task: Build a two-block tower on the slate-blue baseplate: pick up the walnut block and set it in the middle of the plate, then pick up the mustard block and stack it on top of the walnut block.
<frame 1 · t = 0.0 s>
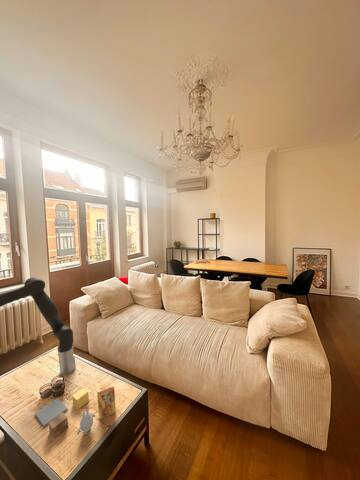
toy figure: (87, 431, 104), on the table
slate baseplate: (51, 412, 115), on the table
mustard brick: (81, 402, 121), on the table
walnut brick: (59, 430, 105), on the table
candy box: (107, 413, 114), on the table
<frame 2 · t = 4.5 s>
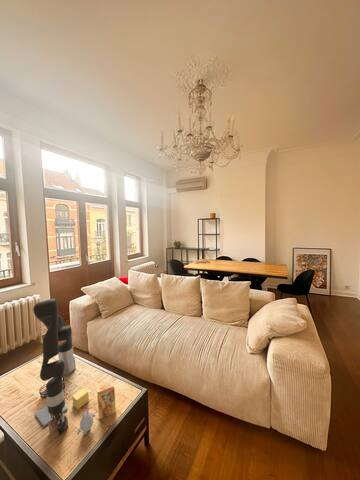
hand: (58, 428, 105), 1 cm above the table, fingers closed on walnut brick, 5 cm apart
walnut brick: (59, 430, 105), on the table, touching gripper
everything else where it was.
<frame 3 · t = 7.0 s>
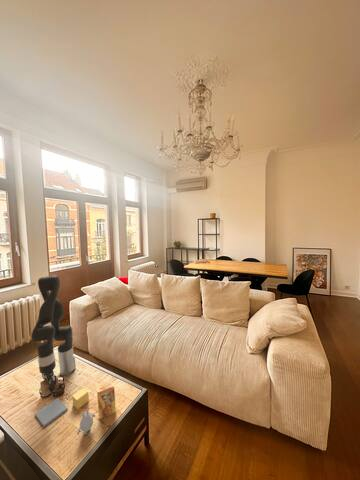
hand: (50, 388, 114), 15 cm above the table, fingers closed on walnut brick, 5 cm apart
walnut brick: (50, 389, 114), point 14 cm above the table, touching gripper
everything else where it was.
when the fingers open (3 cm above the table, at t = 9.9 s): walnut brick drops 1 cm, resting on slate baseplate.
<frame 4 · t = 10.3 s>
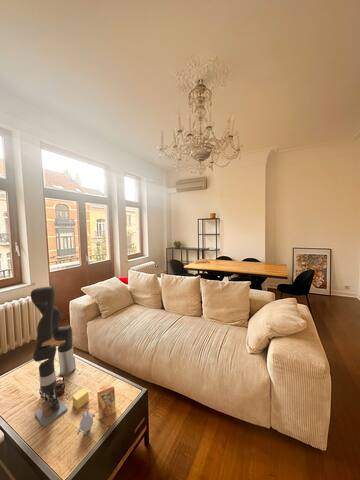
hand: (50, 406, 115), 4 cm above the table, fingers open, 8 cm apart
walnut brick: (51, 410, 115), point 1 cm above the table, touching slate baseplate
everything else where it was.
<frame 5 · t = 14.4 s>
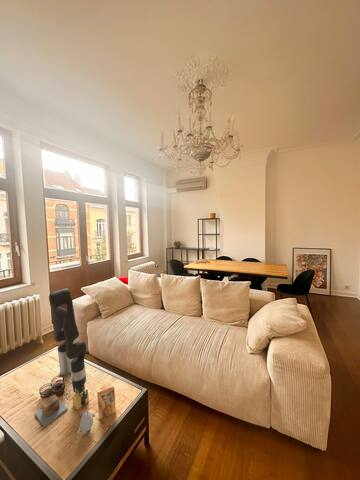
hand: (81, 401, 121), 1 cm above the table, fingers closed on mustard brick, 5 cm apart
mustard brick: (81, 402, 121), on the table, touching gripper
everything else where it was.
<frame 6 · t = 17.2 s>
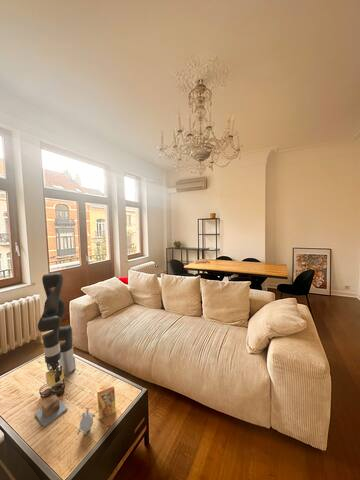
hand: (55, 379, 114), 19 cm above the table, fingers closed on mustard brick, 5 cm apart
mustard brick: (55, 380, 114), point 19 cm above the table, touching gripper
everything else where it was.
when the fingers open (9 cm above the table, at t = 19.8 s): mustard brick drops 1 cm, resting on walnut brick.
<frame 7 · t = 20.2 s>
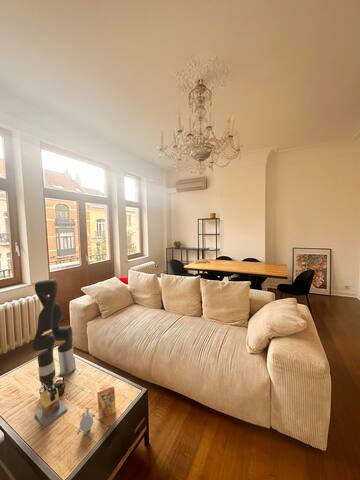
hand: (49, 396, 114), 10 cm above the table, fingers open, 8 cm apart
mustard brick: (50, 401, 114), point 7 cm above the table, touching walnut brick
walnut brick: (51, 410, 115), point 1 cm above the table, touching mustard brick, slate baseplate
everything else where it was.
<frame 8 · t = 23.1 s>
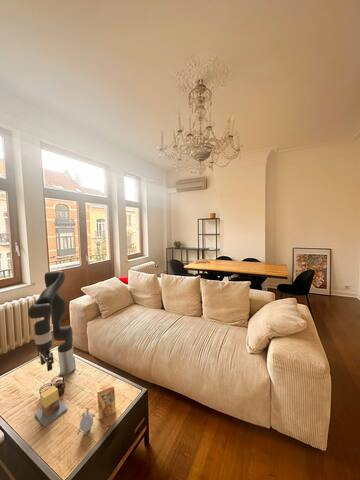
hand: (46, 367, 112), 28 cm above the table, fingers open, 8 cm apart
nothing on the table moved.
at the end: walnut brick 0.1 cm off-centre on the slate baseplate, point 1.2 cm above the slate baseplate's base; mustard brick 0.0 cm off-centre on the walnut brick, point 6.0 cm above the walnut brick's base; mustard brick tilted 0° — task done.
